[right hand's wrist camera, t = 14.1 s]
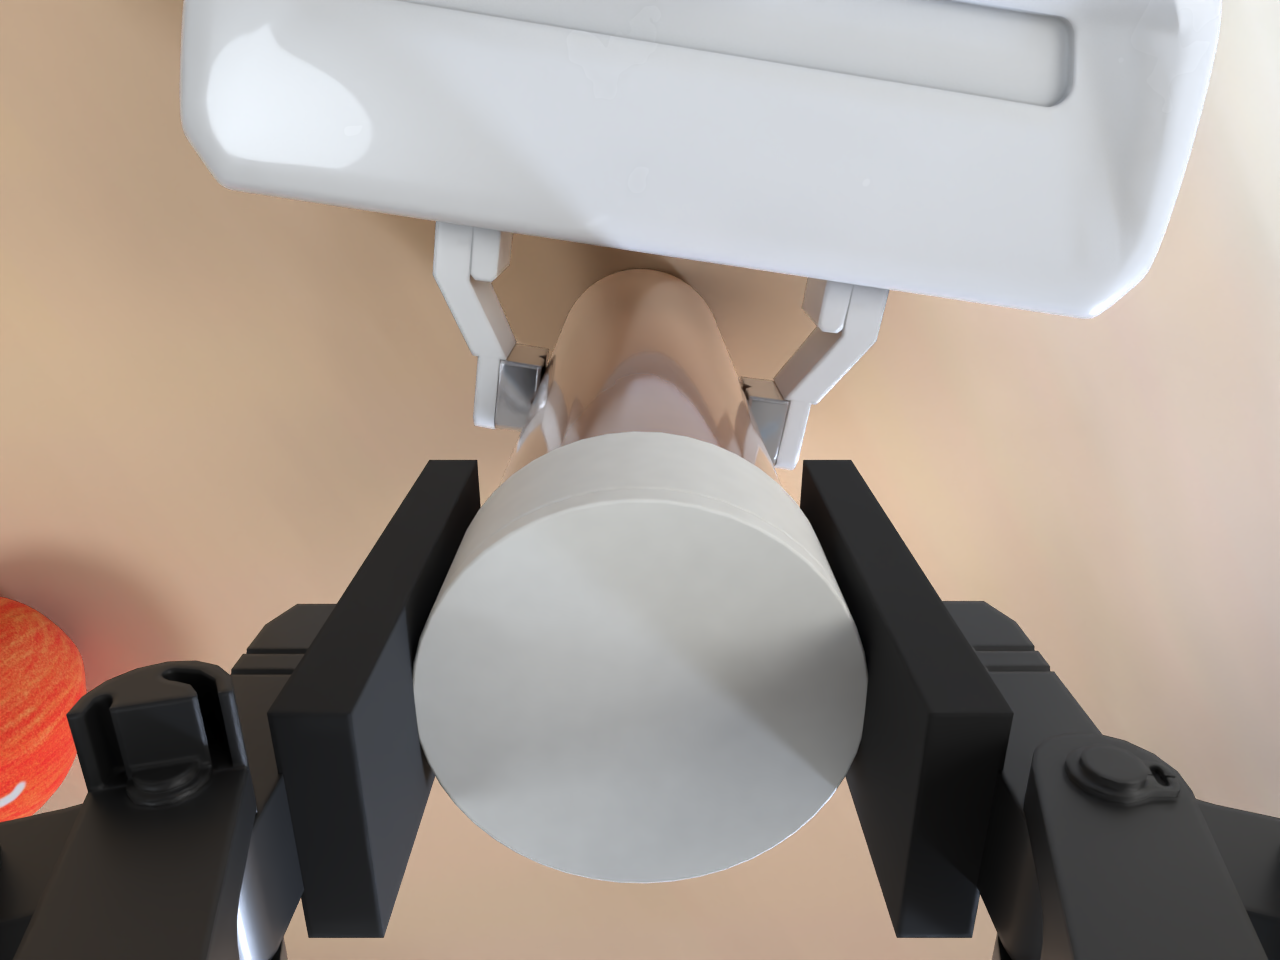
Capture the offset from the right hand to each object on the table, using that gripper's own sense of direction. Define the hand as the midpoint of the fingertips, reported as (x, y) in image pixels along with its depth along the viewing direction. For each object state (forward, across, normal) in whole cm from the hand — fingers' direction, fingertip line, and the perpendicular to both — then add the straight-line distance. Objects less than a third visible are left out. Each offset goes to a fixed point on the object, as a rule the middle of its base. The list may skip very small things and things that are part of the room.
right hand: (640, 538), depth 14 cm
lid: (-4, 0, 0) cm, 4 cm away
